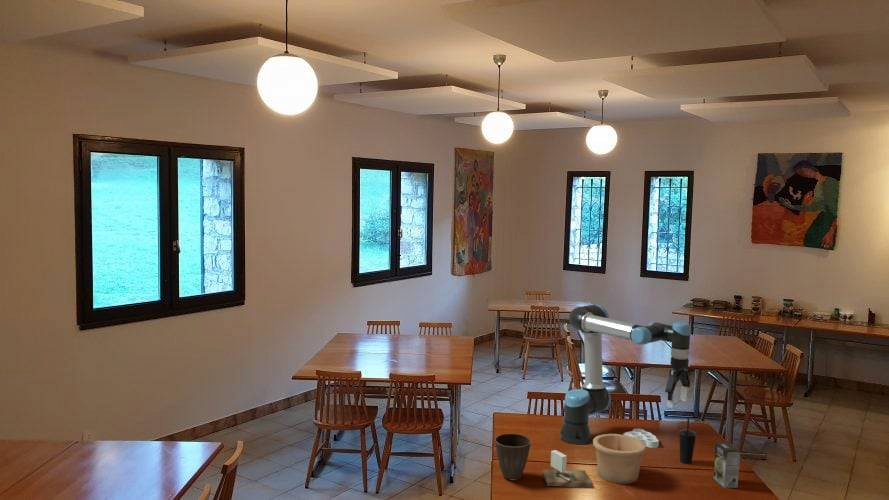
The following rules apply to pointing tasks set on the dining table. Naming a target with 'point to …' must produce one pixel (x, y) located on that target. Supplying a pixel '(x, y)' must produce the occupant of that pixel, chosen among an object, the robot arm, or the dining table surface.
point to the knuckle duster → (644, 437)
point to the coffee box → (726, 464)
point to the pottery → (618, 457)
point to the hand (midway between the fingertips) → (676, 404)
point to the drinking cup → (686, 444)
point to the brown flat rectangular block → (576, 477)
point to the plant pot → (512, 454)
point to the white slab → (559, 463)
